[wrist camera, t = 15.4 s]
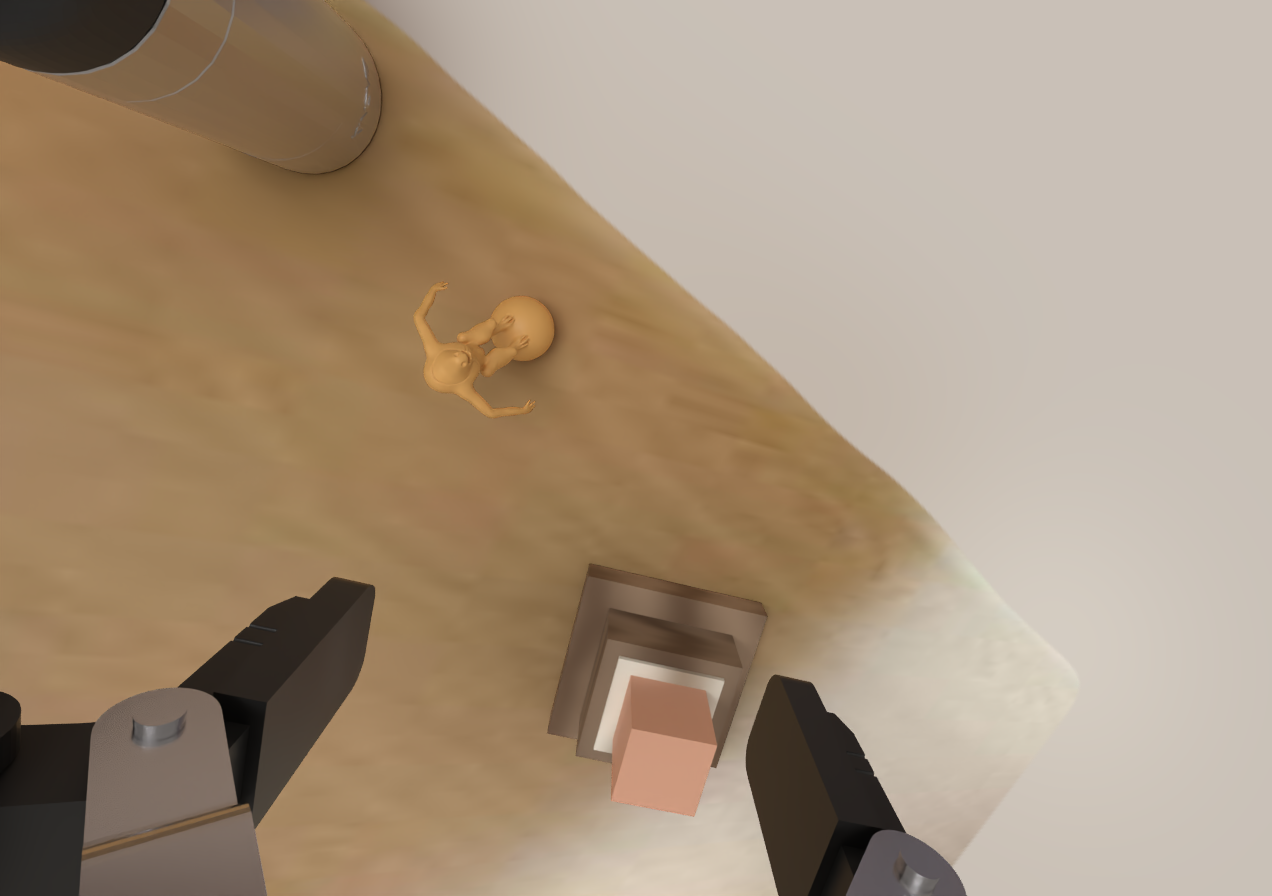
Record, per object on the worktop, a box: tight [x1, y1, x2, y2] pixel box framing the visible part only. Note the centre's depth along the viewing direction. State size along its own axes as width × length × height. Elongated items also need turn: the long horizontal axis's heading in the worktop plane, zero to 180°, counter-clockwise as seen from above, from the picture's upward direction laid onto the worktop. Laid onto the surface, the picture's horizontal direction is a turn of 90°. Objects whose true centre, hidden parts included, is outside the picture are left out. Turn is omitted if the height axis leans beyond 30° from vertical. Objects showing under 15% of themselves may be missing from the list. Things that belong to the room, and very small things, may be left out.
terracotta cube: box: [611, 675, 717, 817], centre depth 37 cm, size 5×5×5 cm
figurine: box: [414, 282, 554, 418], centre depth 34 cm, size 8×6×12 cm
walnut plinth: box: [547, 564, 767, 768], centre depth 43 cm, size 13×13×6 cm
